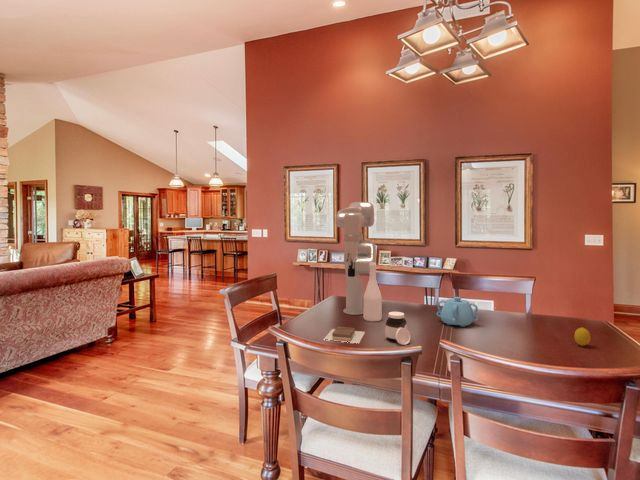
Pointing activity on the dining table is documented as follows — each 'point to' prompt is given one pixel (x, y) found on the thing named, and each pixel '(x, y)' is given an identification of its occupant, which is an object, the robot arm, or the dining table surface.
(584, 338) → the lemon
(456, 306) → the decorative pot
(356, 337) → the mat
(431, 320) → the dining table surface
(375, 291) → the wine bottle
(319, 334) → the dining table surface
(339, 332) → the slab
